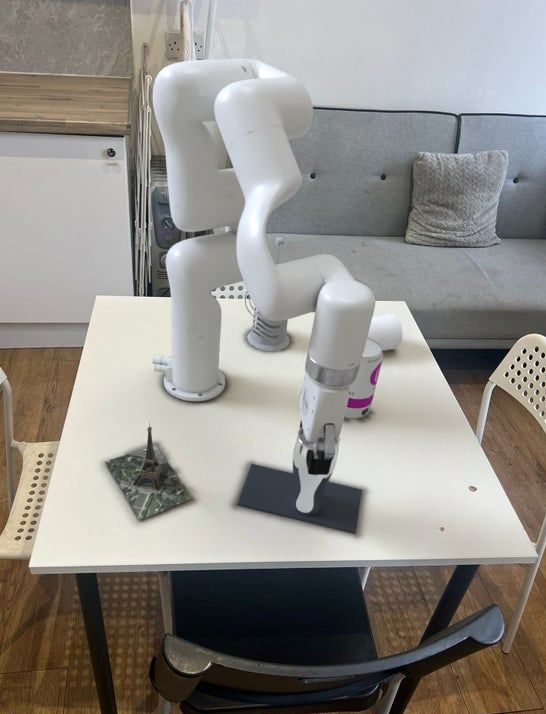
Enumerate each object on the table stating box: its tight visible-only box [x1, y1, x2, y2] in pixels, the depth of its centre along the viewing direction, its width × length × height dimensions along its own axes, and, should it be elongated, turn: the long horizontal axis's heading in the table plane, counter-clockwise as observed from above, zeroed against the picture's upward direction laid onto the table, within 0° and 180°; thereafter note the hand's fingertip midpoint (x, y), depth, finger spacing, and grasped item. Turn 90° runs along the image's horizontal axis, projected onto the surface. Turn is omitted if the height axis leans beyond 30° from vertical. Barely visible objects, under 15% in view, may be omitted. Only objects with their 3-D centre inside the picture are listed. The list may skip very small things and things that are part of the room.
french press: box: [244, 236, 290, 352], centre depth 139 cm, size 10×12×25 cm
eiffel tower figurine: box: [104, 421, 194, 521], centre depth 105 cm, size 15×10×13 cm
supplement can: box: [344, 337, 384, 420], centre depth 125 cm, size 8×8×15 cm
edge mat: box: [236, 463, 363, 535], centre depth 109 cm, size 20×10×1 cm, turn 77°
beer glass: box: [288, 426, 341, 515], centre depth 103 cm, size 7×7×15 cm
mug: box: [367, 313, 403, 352], centre depth 146 cm, size 12×10×8 cm
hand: (313, 450), depth 101 cm, fingers open, 9 cm apart
